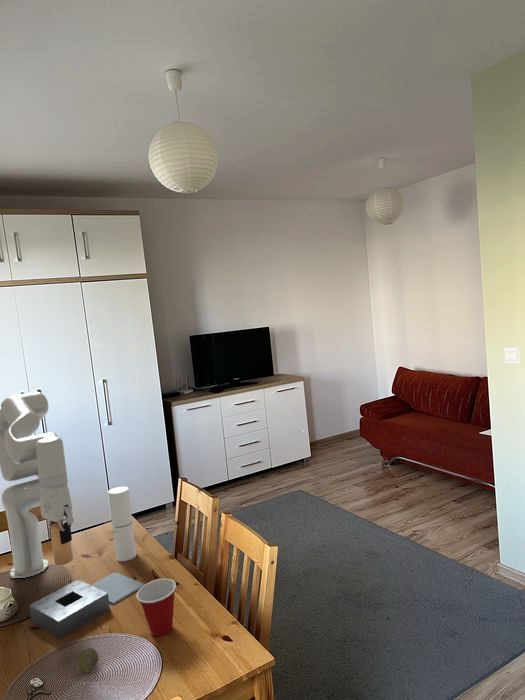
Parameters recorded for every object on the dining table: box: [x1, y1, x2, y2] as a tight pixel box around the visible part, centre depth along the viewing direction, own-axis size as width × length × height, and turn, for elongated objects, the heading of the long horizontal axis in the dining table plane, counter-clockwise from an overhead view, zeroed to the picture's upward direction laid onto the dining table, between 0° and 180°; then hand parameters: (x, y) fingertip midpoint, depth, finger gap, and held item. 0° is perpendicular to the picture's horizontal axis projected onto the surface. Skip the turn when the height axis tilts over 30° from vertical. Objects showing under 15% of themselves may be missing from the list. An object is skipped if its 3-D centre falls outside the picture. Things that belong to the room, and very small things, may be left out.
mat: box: [90, 571, 145, 605], centre depth 165 cm, size 16×12×1 cm
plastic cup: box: [136, 578, 177, 637], centre depth 140 cm, size 11×11×12 cm
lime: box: [77, 647, 99, 673], centre depth 127 cm, size 4×5×5 cm
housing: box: [29, 579, 111, 640], centre depth 152 cm, size 16×16×5 cm
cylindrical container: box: [107, 486, 137, 562], centre depth 186 cm, size 7×7×25 cm
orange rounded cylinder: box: [50, 520, 74, 566], centre depth 151 cm, size 5×5×11 cm
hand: (61, 539), depth 150 cm, fingers closed on orange rounded cylinder, 5 cm apart
